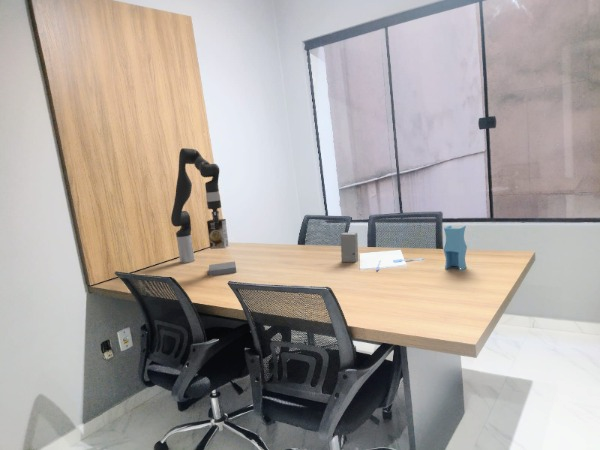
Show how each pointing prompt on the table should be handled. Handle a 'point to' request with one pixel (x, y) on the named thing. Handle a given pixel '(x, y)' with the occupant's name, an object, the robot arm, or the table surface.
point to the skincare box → (349, 247)
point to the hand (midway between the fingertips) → (217, 228)
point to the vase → (455, 247)
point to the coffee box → (217, 234)
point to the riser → (222, 268)
